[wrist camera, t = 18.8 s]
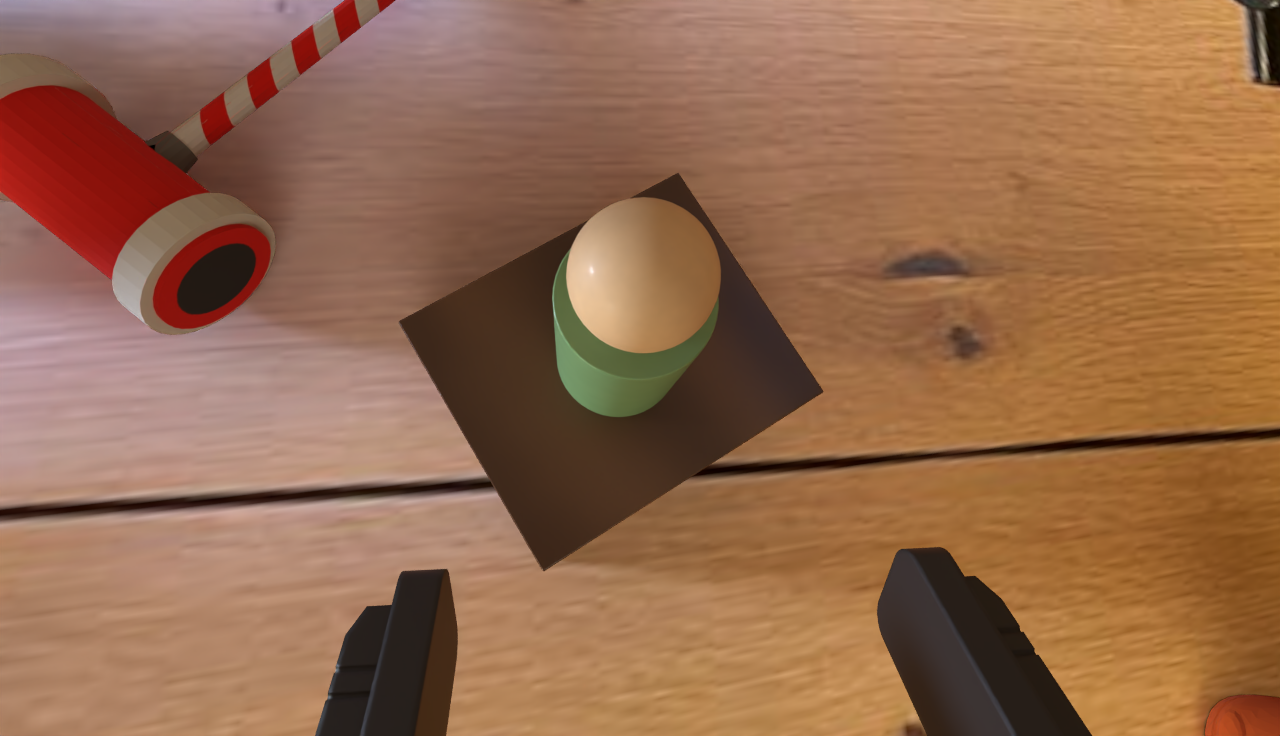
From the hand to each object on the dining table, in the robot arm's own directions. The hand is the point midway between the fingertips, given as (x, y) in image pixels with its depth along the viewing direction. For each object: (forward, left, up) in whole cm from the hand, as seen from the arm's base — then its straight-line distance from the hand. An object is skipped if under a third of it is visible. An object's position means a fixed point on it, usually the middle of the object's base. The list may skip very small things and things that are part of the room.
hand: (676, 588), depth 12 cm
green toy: (+4, +6, -13) cm, 15 cm away
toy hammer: (-5, +26, -20) cm, 34 cm away
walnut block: (+4, +6, -20) cm, 21 cm away
